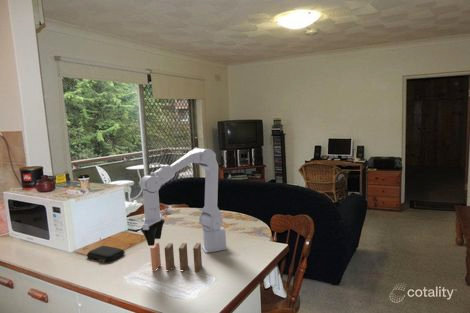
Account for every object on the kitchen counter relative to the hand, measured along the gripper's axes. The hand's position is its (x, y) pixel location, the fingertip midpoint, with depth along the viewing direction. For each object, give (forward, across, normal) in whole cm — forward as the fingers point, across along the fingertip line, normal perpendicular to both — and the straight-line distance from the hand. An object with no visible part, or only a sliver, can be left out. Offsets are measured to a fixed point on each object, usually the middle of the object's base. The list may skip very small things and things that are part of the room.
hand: (154, 241), depth 124 cm
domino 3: (+10, 0, +16) cm, 20 cm away
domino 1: (+10, 0, +6) cm, 12 cm away
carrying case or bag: (+11, -10, -27) cm, 30 cm away
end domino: (+10, 0, 0) cm, 10 cm away
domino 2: (+10, 0, +11) cm, 15 cm away
